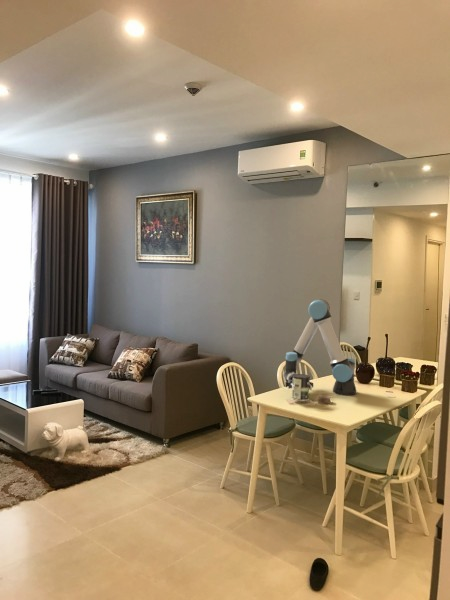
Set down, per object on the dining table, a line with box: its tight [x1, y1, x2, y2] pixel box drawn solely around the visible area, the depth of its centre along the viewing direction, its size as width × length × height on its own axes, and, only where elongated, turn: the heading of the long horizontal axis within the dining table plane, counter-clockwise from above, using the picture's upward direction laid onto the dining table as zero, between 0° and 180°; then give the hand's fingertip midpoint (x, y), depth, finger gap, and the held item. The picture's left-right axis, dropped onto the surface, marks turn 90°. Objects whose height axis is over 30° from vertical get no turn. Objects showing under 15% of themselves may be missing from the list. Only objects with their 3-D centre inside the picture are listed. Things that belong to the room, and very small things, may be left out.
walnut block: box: [317, 394, 331, 405], centre depth 294 cm, size 7×7×4 cm
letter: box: [285, 399, 317, 406], centre depth 293 cm, size 16×12×1 cm
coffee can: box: [291, 373, 311, 401], centre depth 292 cm, size 10×10×14 cm
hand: (302, 388), depth 288 cm, fingers closed on coffee can, 10 cm apart
